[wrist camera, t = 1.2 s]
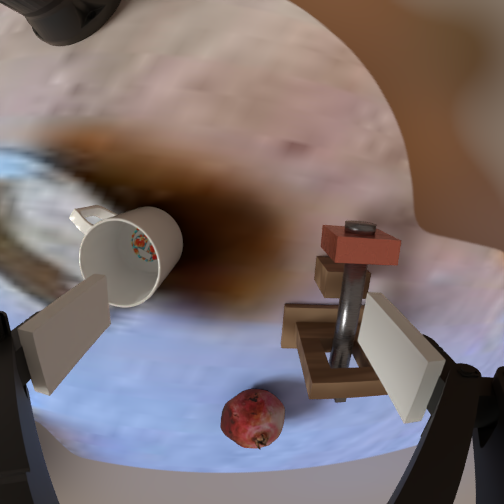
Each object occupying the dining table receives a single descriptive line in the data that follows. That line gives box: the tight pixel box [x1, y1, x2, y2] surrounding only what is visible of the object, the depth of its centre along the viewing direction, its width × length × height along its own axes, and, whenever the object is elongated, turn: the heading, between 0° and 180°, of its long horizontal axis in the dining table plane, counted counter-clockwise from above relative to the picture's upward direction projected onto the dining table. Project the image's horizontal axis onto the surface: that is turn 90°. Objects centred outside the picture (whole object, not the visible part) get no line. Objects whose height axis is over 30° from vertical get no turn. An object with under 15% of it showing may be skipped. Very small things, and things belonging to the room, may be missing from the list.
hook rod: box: [321, 221, 401, 402], centre depth 33 cm, size 19×6×7 cm, turn 177°
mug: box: [69, 205, 183, 307], centre depth 34 cm, size 12×9×11 cm
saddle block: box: [314, 256, 371, 299], centre depth 37 cm, size 3×5×6 cm, turn 87°
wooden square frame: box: [281, 304, 388, 399], centre depth 35 cm, size 6×12×14 cm, turn 87°
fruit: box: [221, 389, 285, 449], centre depth 41 cm, size 9×10×10 cm
